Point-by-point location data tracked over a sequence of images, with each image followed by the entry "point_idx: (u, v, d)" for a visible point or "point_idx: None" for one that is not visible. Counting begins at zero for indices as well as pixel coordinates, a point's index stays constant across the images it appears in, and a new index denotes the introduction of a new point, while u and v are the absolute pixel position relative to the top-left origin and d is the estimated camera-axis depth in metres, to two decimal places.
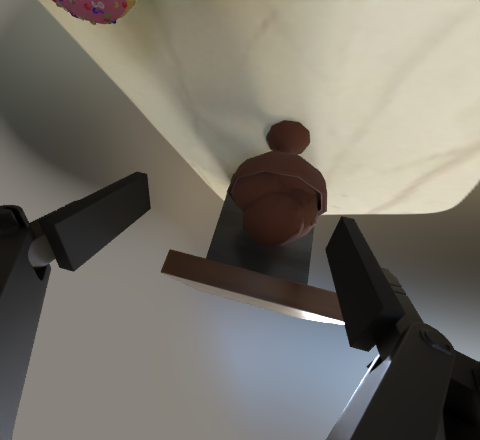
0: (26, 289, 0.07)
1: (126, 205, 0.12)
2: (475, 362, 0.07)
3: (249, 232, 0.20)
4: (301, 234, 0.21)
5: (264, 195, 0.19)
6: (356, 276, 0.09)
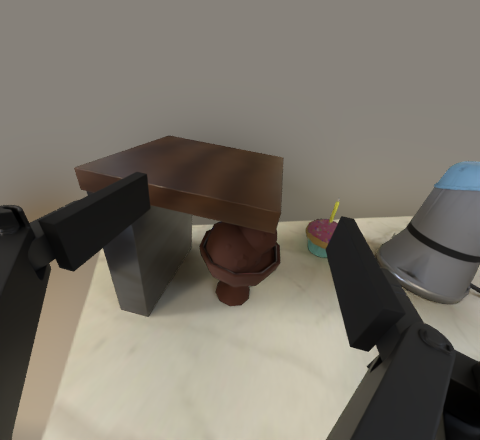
0: (26, 289, 0.07)
1: (126, 205, 0.12)
2: (475, 362, 0.07)
3: None
4: (239, 242, 0.23)
5: None
6: (356, 276, 0.09)
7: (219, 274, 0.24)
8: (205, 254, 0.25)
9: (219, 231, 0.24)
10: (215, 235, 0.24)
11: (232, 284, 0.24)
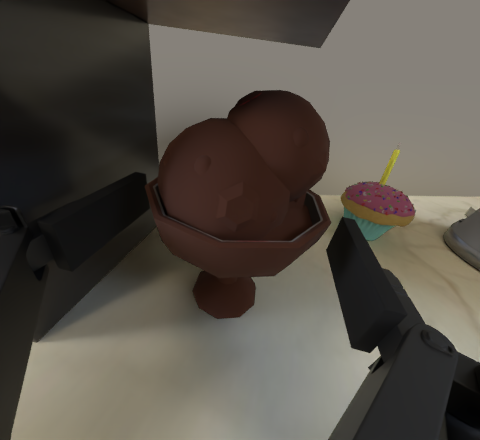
0: (24, 289, 0.07)
1: (125, 205, 0.12)
2: (477, 364, 0.07)
3: None
4: (234, 152, 0.08)
5: None
6: (357, 277, 0.09)
7: (182, 244, 0.09)
8: (152, 198, 0.10)
9: (183, 135, 0.10)
10: (173, 146, 0.10)
11: (215, 271, 0.10)
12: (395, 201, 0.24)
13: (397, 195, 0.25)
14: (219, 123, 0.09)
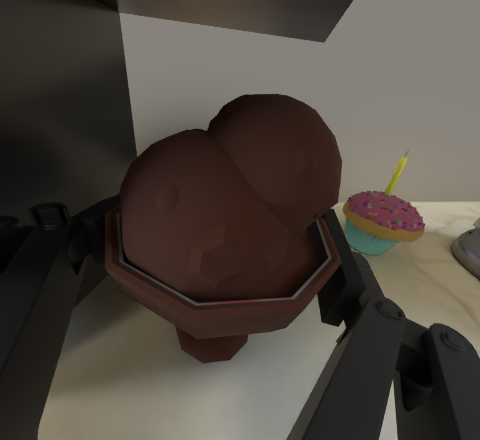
0: (63, 283, 0.07)
1: None
2: (424, 330, 0.07)
3: None
4: (213, 182, 0.06)
5: None
6: None
7: (145, 302, 0.07)
8: (111, 234, 0.08)
9: (146, 153, 0.07)
10: (133, 168, 0.07)
11: None
12: (403, 215, 0.22)
13: (405, 207, 0.22)
14: (194, 139, 0.07)
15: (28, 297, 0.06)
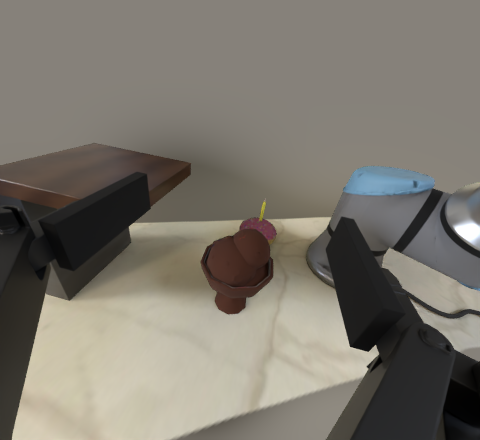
0: (26, 289, 0.07)
1: (126, 205, 0.12)
2: (475, 362, 0.07)
3: (255, 230, 0.30)
4: (236, 260, 0.26)
5: None
6: (356, 276, 0.09)
7: (218, 287, 0.27)
8: (206, 269, 0.28)
9: (218, 249, 0.27)
10: (214, 253, 0.27)
11: (230, 296, 0.28)
12: None
13: (262, 228, 0.44)
14: (231, 247, 0.27)
15: None
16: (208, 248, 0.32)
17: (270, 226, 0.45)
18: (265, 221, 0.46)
